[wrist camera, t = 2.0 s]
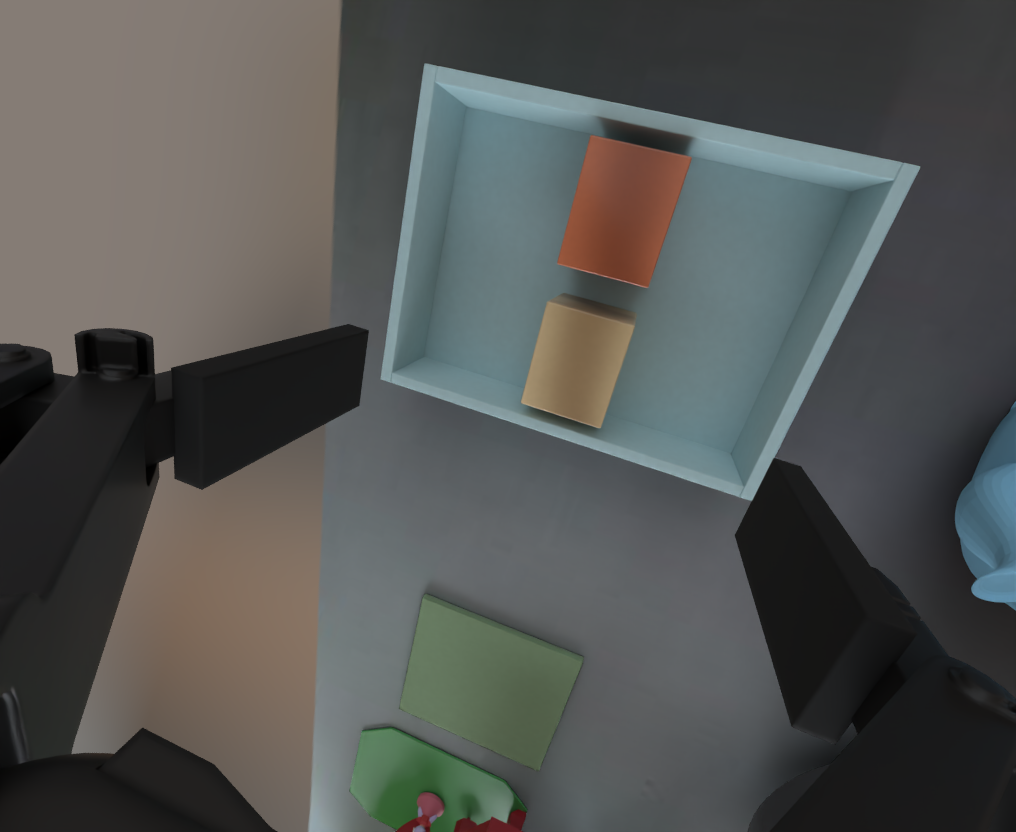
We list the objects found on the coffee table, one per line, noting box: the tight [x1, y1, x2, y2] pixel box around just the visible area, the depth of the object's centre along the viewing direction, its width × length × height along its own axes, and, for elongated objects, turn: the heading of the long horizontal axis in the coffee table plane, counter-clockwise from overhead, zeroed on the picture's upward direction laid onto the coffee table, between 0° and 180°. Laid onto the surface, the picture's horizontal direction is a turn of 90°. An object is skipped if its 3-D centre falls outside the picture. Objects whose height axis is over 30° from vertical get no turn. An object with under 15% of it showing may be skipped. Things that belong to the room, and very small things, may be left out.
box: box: [381, 64, 920, 501], centre depth 23 cm, size 19×14×4 cm
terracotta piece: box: [557, 135, 692, 288], centre depth 22 cm, size 4×5×4 cm
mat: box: [399, 594, 584, 771], centre depth 37 cm, size 12×12×1 cm
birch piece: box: [521, 293, 637, 428], centre depth 24 cm, size 4×5×4 cm
